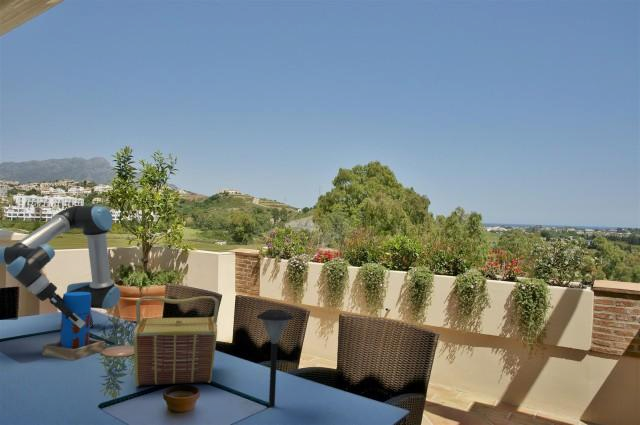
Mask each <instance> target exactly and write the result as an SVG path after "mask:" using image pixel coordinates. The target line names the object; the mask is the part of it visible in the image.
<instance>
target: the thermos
mask: <svg viewBox="0 0 640 425" xmlns="http://www.w3.org/2000/svg"><path fill="white" fill-rule="evenodd" d="M62 299H63V301H64V304H65V305H66V306H67V307H68V308H69V309H70V310H71V311H72V312H73V313H75V314H76V315H77V316H78V317H79V318H80V319H82V320H83V321H84V322H85V324H84V325H83V326H82V327H81V328H79V327H78V326H77V325H76V324H75V323H74V322H72V321H71V320H70V319H69V318H68V319H66V318H65V317H66V316H65V315H64V314H63V313H62V312H61V322H60V339H59V341H60V347H63V348H69V349H77V348H80V347H84V346H87V345H89V339H90V329H91V328H90V311H92V308H91V293H89V292H69V293H66V292H65V293H63V295H62Z"/></svg>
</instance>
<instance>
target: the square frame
mask: <svg viewBox="0 0 640 425" xmlns="http://www.w3.org/2000/svg"><path fill="white" fill-rule="evenodd" d="M105 342H106V341H105V340H99V339H92V338H89V345H87V346H84V347H80V348H77V349H69V348H63V347H60V340H58V341H55V342H51V343H47V344H43V345H42V356H44V357H50V358H58V359H63V360H67V361H68V360H69V361H76V360H79V359H83V358H85V356H86V357H89V356H92V355H95V354H98V353H102V350H104V349H106V348H105V347H106V346H105V345H106V343H105ZM97 352H98V353H97ZM91 354H92V355H91ZM88 355H89V356H88Z"/></svg>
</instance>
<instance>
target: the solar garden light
mask: <svg viewBox="0 0 640 425" xmlns="http://www.w3.org/2000/svg"><path fill="white" fill-rule="evenodd" d="M256 318H257V319H259V320H262V323H263V326H264V327H265V330H266V332H267V335H268V339H269V340H270V343H271V345H270V348H271V349H270V366H269V368H270V369H269V371H270V372H269V390H268V391H269V393H268V394H269V396H268V407H269V408H274V407H275V404H276V387H277V386H276V384H277V383H276V382H277V359H278V344H279V340H280V338H281V336H282V334H283V332H284V330H285V328H286V326H287V324H288V322H289V321H291V320H294V319H295V316H294V315H292V314H291V313H289V312H288V311H286V310H283V309H267V310H265V311H263V312H261V313H260V314H258V315H256Z"/></svg>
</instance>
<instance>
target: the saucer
mask: <svg viewBox="0 0 640 425" xmlns="http://www.w3.org/2000/svg"><path fill="white" fill-rule="evenodd" d="M133 354H134V345H114V346H110V347H106V348H104V350H102V351H101V355H102V356H105V357H109V358H123V356H125V357H130V356H129V355H132V356H134V355H133Z"/></svg>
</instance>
